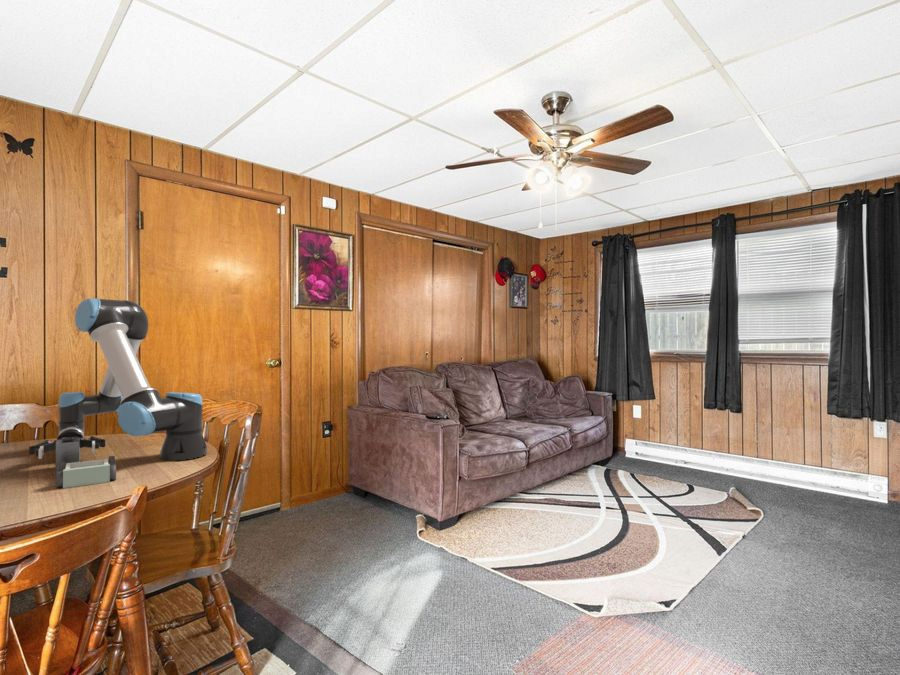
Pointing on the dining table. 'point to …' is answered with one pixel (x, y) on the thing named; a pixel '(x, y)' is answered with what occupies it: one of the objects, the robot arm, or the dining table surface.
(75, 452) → the grey upright block
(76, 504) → the dining table surface
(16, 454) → the dining table surface
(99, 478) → the toy car chassis
